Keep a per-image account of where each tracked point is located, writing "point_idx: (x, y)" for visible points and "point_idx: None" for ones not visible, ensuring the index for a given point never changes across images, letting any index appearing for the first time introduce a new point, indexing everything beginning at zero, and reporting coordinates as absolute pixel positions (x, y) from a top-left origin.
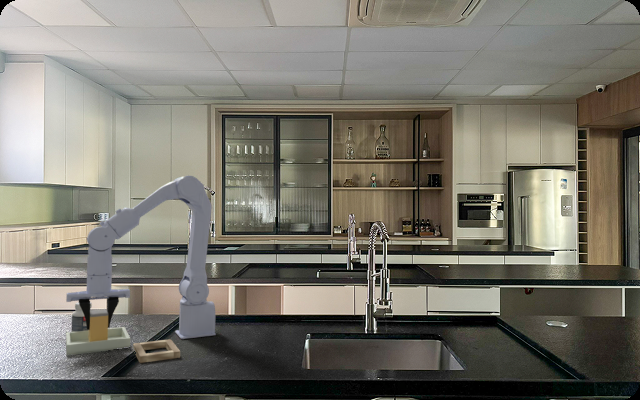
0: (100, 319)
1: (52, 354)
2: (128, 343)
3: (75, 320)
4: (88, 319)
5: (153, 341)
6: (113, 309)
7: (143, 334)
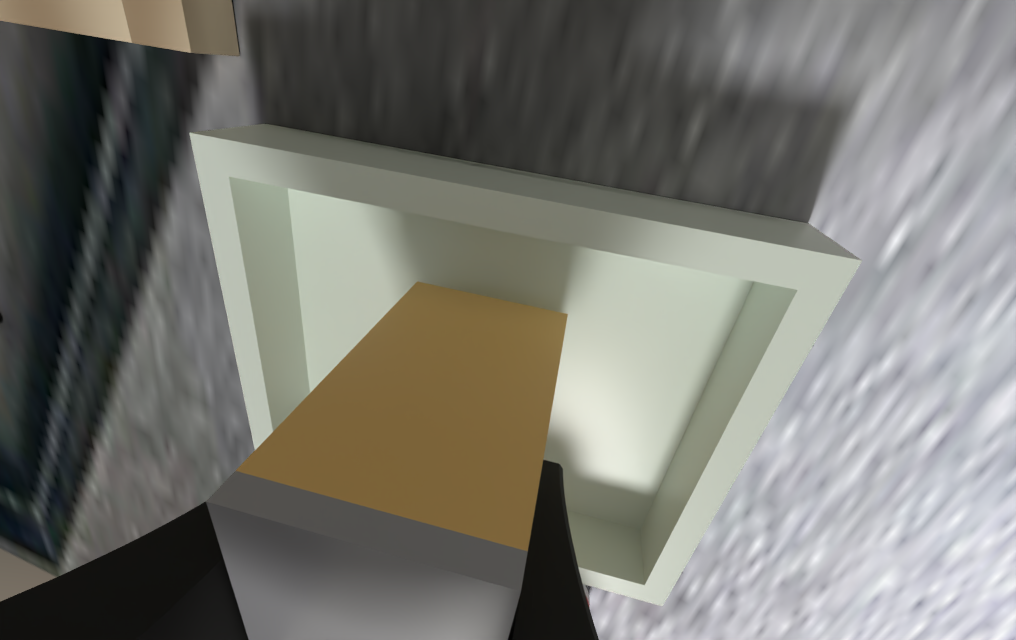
0: (384, 458)
1: (877, 340)
2: (247, 129)
3: None
4: (541, 564)
5: (4, 6)
6: (89, 579)
7: (196, 410)
